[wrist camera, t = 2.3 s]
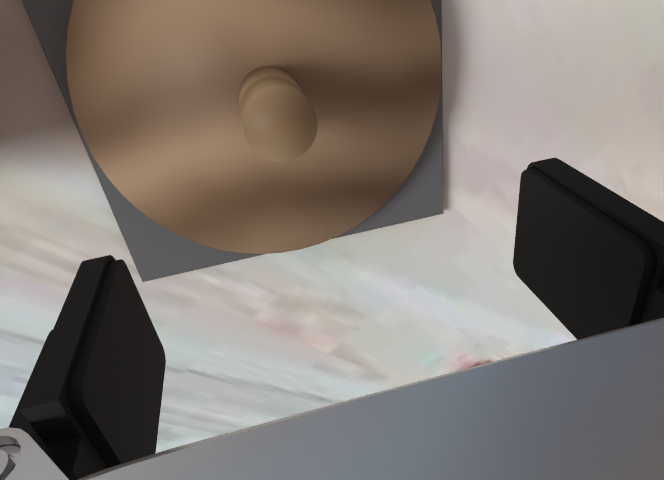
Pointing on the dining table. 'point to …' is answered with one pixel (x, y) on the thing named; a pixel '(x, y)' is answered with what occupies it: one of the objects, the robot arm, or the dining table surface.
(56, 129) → the dining table surface
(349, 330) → the dining table surface
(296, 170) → the lid
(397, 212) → the mat
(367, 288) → the dining table surface
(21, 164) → the dining table surface
